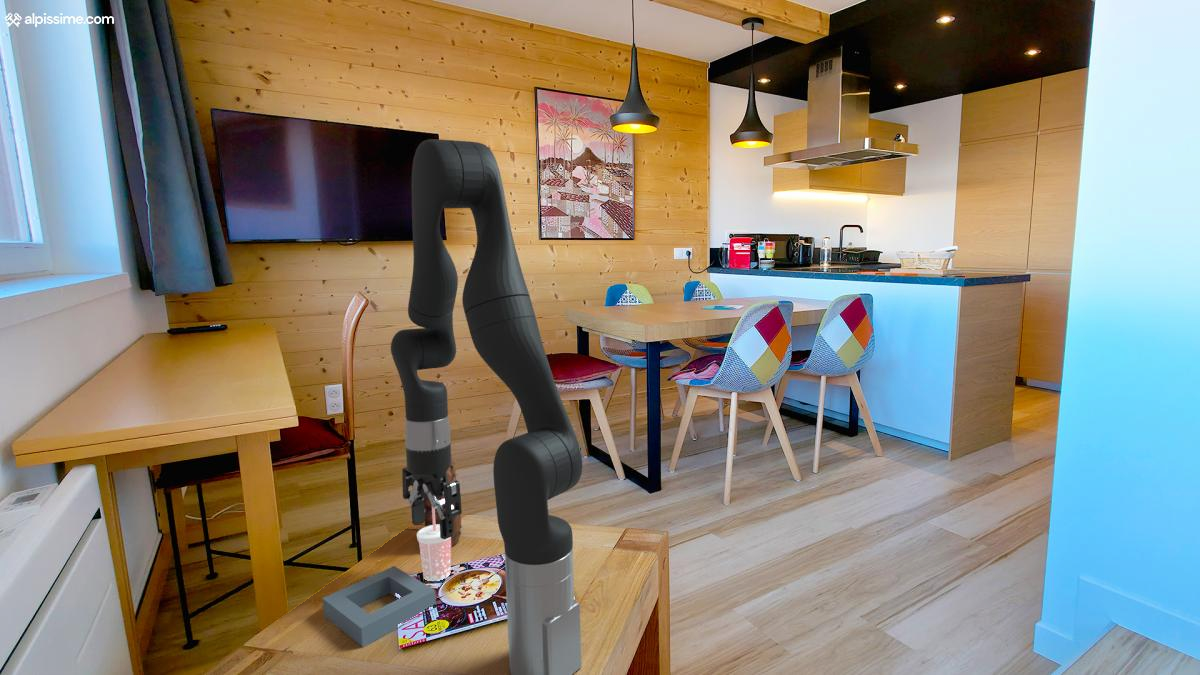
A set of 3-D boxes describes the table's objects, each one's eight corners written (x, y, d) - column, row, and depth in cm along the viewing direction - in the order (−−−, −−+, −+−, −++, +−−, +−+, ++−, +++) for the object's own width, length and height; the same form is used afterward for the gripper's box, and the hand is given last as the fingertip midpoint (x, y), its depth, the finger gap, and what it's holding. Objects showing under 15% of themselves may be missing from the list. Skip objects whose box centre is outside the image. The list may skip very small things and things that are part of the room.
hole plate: (436, 607, 93) (435, 590, 93) (362, 647, 84) (361, 628, 83) (395, 581, 101) (394, 565, 101) (323, 615, 92) (322, 598, 91)
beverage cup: (460, 571, 104) (456, 498, 103) (446, 589, 98) (442, 512, 97) (429, 569, 105) (424, 497, 104) (413, 587, 99) (408, 511, 98)
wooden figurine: (455, 552, 111) (450, 464, 109) (422, 554, 111) (416, 465, 109) (465, 525, 123) (461, 445, 121) (435, 527, 123) (431, 446, 121)
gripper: (471, 444, 97) (474, 534, 99) (423, 429, 106) (427, 512, 108) (433, 456, 91) (438, 551, 93) (386, 439, 100) (391, 526, 102)
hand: (432, 530), depth 101 cm, fingers open, 8 cm apart
